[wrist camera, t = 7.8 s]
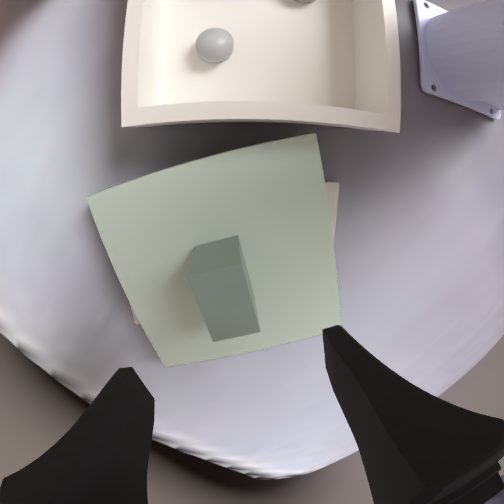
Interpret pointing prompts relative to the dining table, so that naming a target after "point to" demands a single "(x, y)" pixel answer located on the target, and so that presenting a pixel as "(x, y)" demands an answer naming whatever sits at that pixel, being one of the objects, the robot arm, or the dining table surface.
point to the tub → (262, 63)
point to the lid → (225, 250)
